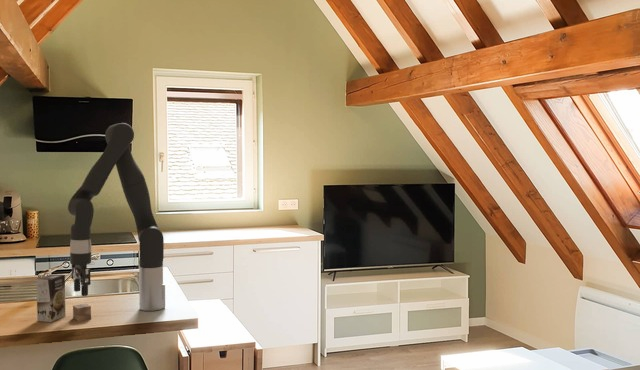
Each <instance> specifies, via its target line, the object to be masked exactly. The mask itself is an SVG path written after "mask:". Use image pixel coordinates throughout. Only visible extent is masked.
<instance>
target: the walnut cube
mask: <svg viewBox="0 0 640 370" xmlns="http://www.w3.org/2000/svg"><path fill="white" fill-rule="evenodd" d="M72 319H73V320H75V321H77V322H81V321H89V320H92V306H91V305H89V304H88V303H82V304H75V305H72Z"/></svg>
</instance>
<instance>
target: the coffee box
mask: <svg viewBox="0 0 640 370" xmlns="http://www.w3.org/2000/svg"><path fill="white" fill-rule="evenodd" d="M36 313H37V314H36V316H37V317H36V319H37V320H36V321H37V322H46V323H53V322H55V321H57V320H59V319H61V318H64V317H65V316H66V274H58V273H57V274H56V273H55V274H53V273H52V274H48V275H44V276H41V277H39V278H36Z"/></svg>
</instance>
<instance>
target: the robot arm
mask: <svg viewBox="0 0 640 370" xmlns="http://www.w3.org/2000/svg"><path fill="white" fill-rule="evenodd" d="M134 131H135V130H134V129H133V128H132V126H131V125H129V124H128V123H126V122H121V123H115V124H112V125H109V126H108V128H106V130H105V135H104V136H105V141H106V144H107V145H106V147H105V149H104V150H103V152H102V154H101V155H100V156H99V158H98V159H97V161H96V162H95V163H94V164H93V165H92V167H91V169H90V170H89V171H88V173H87V175H86V176H85V179H84V181H83V182H82V185H80V187H79V188H78V189H76V192H75V193H74V194H73V195H72V196H71V198H70V199H69V202H68V203H67V211H68V212H69V214H70V215H72V216H73V217H74V223H73V224H72V225H71V227H70V243H69V244H70V245H69V262H70V264H71V279H72V282H73V292H80V291H81V293H80V294H81V296H82V297H87V296H88V295H89V286H90V285H91V269H90V268H87V267H88V266H87V265H89V264H91V263H92V241H91V238H92V237H91V233H92V232H91V227H92V224H93V223H92V222H93V218H94V212H95V211H94V210H95V209H94V205H93V202H92V199H93V198H94V197H96V196H98V195H100V193H101V191H102V189H103V188H104V186H105V184H106V182H107V180H108V179H109V176H110V174H111V173H112V172H113V169H114V167H116V170H117V174H118V177H119V181H120V184H121V188H122V191H123V194H124V197H125V199H126V202H127V204H128V207H129V209H130V211H131V213H132V215H133V218H134V222H135V226H136V230H137V238H138V243H139V258H138V266H139V267H138V268H139V270H138V271H139V273H138V275H139V276H138V277H139V278H138V279H139V280H138V281H139V283H138V285H139V286H138V287H139V290H138V291H139V310H141V311H144V312H145V311H146V312H152V311H153V312H154V311H160V310H162V309H165V308H166V285H165V284H164V271H163V270H164V259H165V258H164V256H165V255H164V250H165V249H164V246H165V244H164V243H165V242H164V240H165V239H164V234H163V232H162V230H161V229H160V228H159V226H158V224H157V222H156V219H155V216H154V215H153V211H152V203H151V197H150V196H151V195H150V191H149V188H148V185H147V181H146V178H145V175H144V174H143V172H142V170H141V169H140V167H139V165H138V164H137V162H136V161H135V159H134V157H133V154H132V150H131V148H130V145H131V144H132V143H133V140H134V138H135V132H134Z"/></svg>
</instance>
